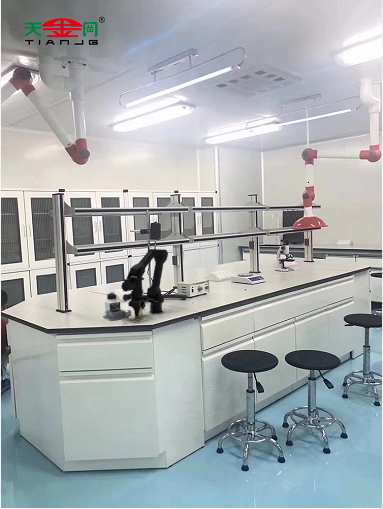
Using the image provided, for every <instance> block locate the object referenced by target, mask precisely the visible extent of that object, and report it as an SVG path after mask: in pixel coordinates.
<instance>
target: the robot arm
mask: <svg viewBox="0 0 383 509" xmlns="http://www.w3.org/2000/svg"><path fill="white" fill-rule="evenodd" d="M168 257H169V253H168V250H167V249H166V248H165V249H161V248H160V249H159V248H157V249H156V248H149V249H148V250H147V252H146V253H145V255H144V256H142V258H141V260H139V262H138V263H136V264H134V265H132V266H130V268H129V271H128V274H127V276H126V279H123V282H122V283H121V285H120V286H121V289H122V291H123V292H130V293H124V294H123V295H122V300H123V302H127V301H128V305H127V306H128V307H131V308H132V309H133V311H134V316H135V315H136V317H138V315H139V312H140V308H141V307H142V310H143V309H144V306H145V304H146V301H148V303H150V304H149V313H151V312H152V313H151V314H154V313H156V314H160V313H159V312H161V313H164V312H163V311H164V310H163V303H164V302H165V298H164V297H163V295H162V290H161V288H160V287H161V282H162V275H163V269H164V268H163V267H164V264H165V263H166V261H167V259H168ZM153 259H154V260H153ZM152 261H154V263H155V264H154V270H153V275H152V283H151V286H149V287H148V288H147V289H146V294H143V292H144V289H143V281H144V280H145V278H144V277H143V276H144V274H145V272H146V268H147V266H148V265H149V264H150V263H151V262H152ZM140 304H141V305H140Z"/></svg>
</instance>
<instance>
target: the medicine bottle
mask: <svg viewBox="0 0 383 509" xmlns="http://www.w3.org/2000/svg"><path fill="white" fill-rule="evenodd" d="M106 296H107V297H106V298H107V299H106V300H105V301H104V307H105V313H106V311H107V310H113V309H121V301H120V300H118V294H117V293H116V292H110V293H107V295H106Z"/></svg>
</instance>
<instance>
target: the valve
mask: <svg viewBox="0 0 383 509" xmlns="http://www.w3.org/2000/svg"><path fill="white" fill-rule="evenodd" d="M140 305H141V304H140ZM141 318H142V319H143V309H142V307H141V308H140V312H139V315H138V317H136V315H135V314H134V320H136V319H140V320H142V319H141Z"/></svg>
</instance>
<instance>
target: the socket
mask: <svg viewBox="0 0 383 509" xmlns="http://www.w3.org/2000/svg"><path fill="white" fill-rule="evenodd" d="M131 315H132V310H131V309H127V310H124V309H122V308H120V309H113V310H107V311H106V312H105V314H104V315H103V316H102V318H103V319H105V318H106V319H105V320H107V319H108V320H107V321H110V320H111V321H110V322H114V321H113V320H115V321H119V319H121V320H125V319H124V318H126V319H129V316H131Z"/></svg>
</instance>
